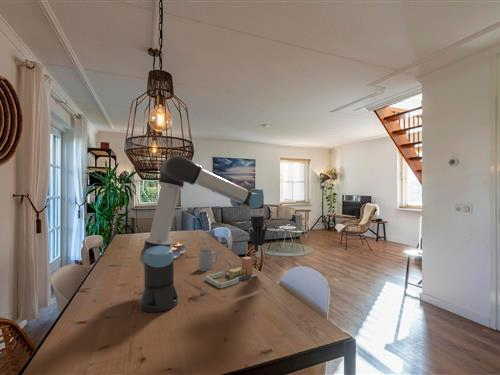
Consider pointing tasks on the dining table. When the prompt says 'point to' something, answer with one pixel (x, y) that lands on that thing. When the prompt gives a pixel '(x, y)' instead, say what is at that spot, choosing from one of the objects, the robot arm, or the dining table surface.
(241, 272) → the chip
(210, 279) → the tray
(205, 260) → the mug
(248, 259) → the salmon pink flat-faced block
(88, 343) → the dining table surface
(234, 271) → the chip
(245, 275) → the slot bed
